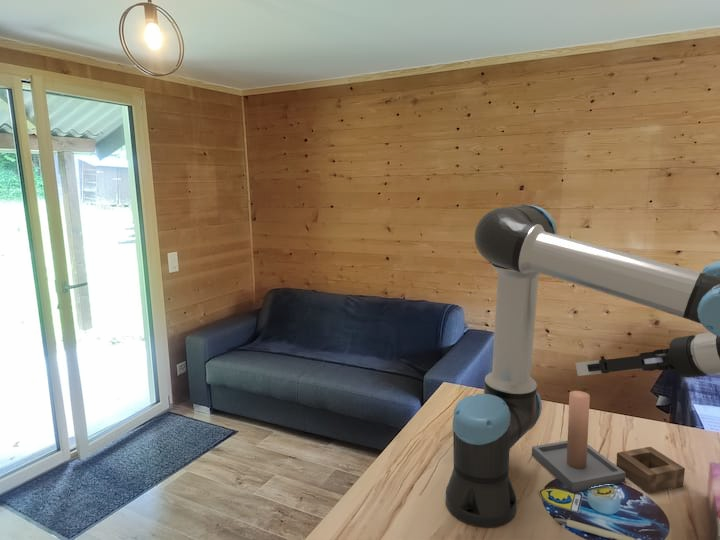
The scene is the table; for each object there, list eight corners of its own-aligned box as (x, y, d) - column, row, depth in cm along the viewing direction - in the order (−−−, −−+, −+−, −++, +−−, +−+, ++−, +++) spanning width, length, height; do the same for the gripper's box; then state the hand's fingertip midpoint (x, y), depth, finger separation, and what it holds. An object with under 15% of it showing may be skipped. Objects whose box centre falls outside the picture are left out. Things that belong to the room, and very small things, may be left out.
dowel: (574, 470, 115) (577, 399, 112) (562, 460, 119) (565, 392, 116) (590, 467, 116) (593, 397, 113) (578, 457, 120) (581, 389, 117)
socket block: (647, 493, 107) (649, 475, 107) (616, 469, 117) (617, 452, 116) (683, 486, 110) (684, 468, 109) (649, 463, 119) (650, 446, 118)
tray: (572, 492, 109) (572, 482, 108) (531, 455, 124) (532, 446, 124) (625, 482, 112) (625, 472, 111) (579, 447, 127) (579, 438, 127)
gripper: (670, 381, 81) (564, 389, 98) (740, 371, 93) (634, 380, 111) (658, 337, 83) (556, 352, 100) (728, 332, 95) (626, 347, 113)
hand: (597, 367), depth 106 cm, fingers open, 13 cm apart
